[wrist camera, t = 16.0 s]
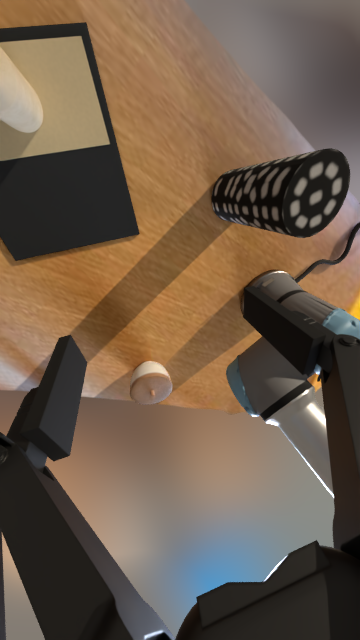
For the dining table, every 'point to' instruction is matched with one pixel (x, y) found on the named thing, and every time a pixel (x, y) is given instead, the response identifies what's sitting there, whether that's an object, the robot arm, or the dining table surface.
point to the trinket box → (150, 383)
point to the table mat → (61, 150)
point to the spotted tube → (285, 193)
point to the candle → (18, 98)
